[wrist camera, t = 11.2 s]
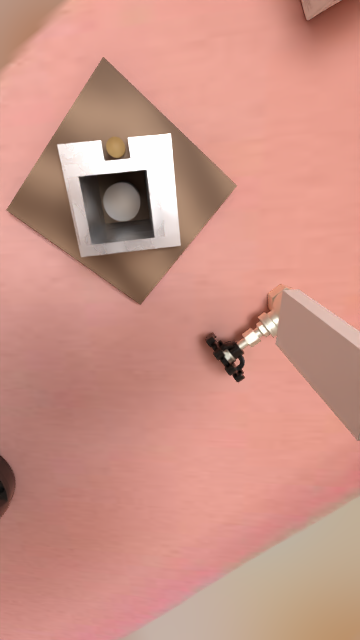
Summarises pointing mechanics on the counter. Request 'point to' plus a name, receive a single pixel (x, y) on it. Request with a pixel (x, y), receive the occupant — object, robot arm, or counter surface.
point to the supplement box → (316, 7)
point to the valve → (249, 336)
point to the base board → (124, 122)
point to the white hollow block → (85, 199)
